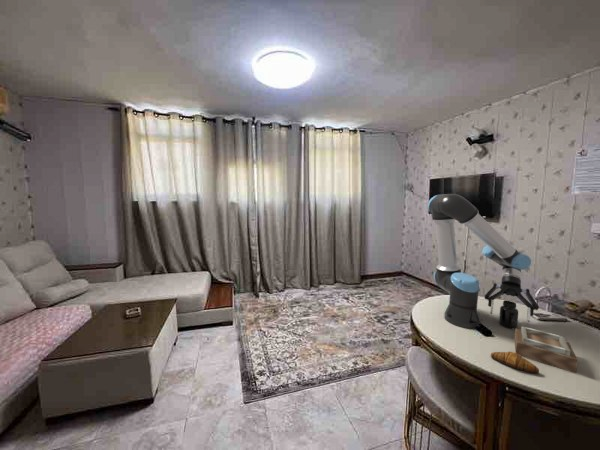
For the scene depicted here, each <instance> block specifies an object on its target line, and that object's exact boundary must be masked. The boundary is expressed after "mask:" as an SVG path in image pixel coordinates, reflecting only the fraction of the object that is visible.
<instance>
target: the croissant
mask: <svg viewBox="0 0 600 450" xmlns="http://www.w3.org/2000/svg"><path fill="white" fill-rule="evenodd" d="M490 357H491V358H492V359H493V360H494V361H496V362H499V363H501V364H504V365H507V366H508V367H511V368H513V369H517V370H521V371H525V372H527V373H532V374H539V372H540V369H539V368H538V367H537V366H536V365H535V364H533V363H532V362H531V361H529V360H528V359H527V358H525V357H523V356H521V355H519V354H517V353H516V352H514V351H507V352H506V351H495V352H491V354H490Z"/></svg>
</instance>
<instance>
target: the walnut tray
mask: <svg viewBox="0 0 600 450" xmlns="http://www.w3.org/2000/svg"><path fill="white" fill-rule="evenodd" d="M514 330H515V331H514V338H513V339H514V349H515V353H517V354H519V355H521V356H522V357H523V358H525V359H530V360H533V361H536V362H539V363H543V364H547V365H549V366H552V367H556V368H557V369H558V368H560V369H562V370H566V371H568V372H572V373H575V374H576V373H577V367H578V360H579V359H578V357H577V356H576V353H575V352H574V350H573V347H572V346H571V343H570V342H569V341H566V339H565V337H564V336H562V335H558V334H554V333H550V332H547V331H542V330H538V329H534V328H531V327H527V326H523V325H522V326H521V328H515V329H514Z"/></svg>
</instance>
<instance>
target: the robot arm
mask: <svg viewBox="0 0 600 450" xmlns="http://www.w3.org/2000/svg"><path fill="white" fill-rule="evenodd" d="M427 209H428V211H429V213H430V214H431V220H432V221H433V222H434V223H435V231H436V243H437V257H438V264H437V265H436V268H435V269H436V270H435V271H434V273H433V280H434V282H435V284H436V285H437V286H438V287H439V288H440V289H442V290H443V291H445V292H446V293H448V294H449V299H448V300H449V303H448V305H447V307H446V309H445V311H444V313H443V314H444V316H443V317H444V318H443V319H445V320H446V321H447V322H448V323H450V324H452V325H454V326H457V327H461V328H466V329H476V328H475V327H476V326H477V325H479V324H480V325H481V319H480V314H479V312H478V299H479V290H480V282H479V280H478V279H477V277H476V276H474V275H471V274H468V273H465V272H462V269H461V268H462V267H461V266H459V265H458V259H457V246H456V231H455V221H457V222H458V223H459V224H461V225H462V224H463V225H465V226H466V227H467V228H468V229H469V230H470V231H471V232H472V233H473V234H474V235H475V236H476V237H477V238H478V239H480V240H481V241H482V242H483V243H484V244H485V246H484V247H483V248H482V250H481V251H482V255H483V256H484V257H486V258H487V259H489V260H491V261H492V262H494V263H496V264H498V265H500V266H501V267H502V271H501V284H497V283H496V282H494V283H493V285H492V287H491V288H490V290H488V291H487V292H486V293H485V295H484V299H485V300H487V301H488V304H487V305H488V307H489V308H490V314H491V315H492V314H493V309H494V301H495V300H496V299H497V298H499V297H501V296H503V295H506V296H510V297H516V299H519V300H520V301H521V302H522V303H523V305H525V306H526V307H527V311H526V312H527V313H526V315H527V318H526V320H527V323H528V324H530V322H531V317H533V316H534V311H538V310H539V309H540V306H539V304H538V303H537V302H536V300H535V299H534V297H533V296H532V294H531V292H530V289H529V288H526V289H522V271H524V270H527V269H529V267H530V266H531V264H532V258H530V256H529V255H526V254H525V253H521V252H520V251H518V250H517V249H516V248H515V247H514V246H513V245H512V244H511V243H510V242H509V241H508V240H507V239H506V238H505V237H504V236H503V235H501V234H500V232H498V231H497V229H496V228H494V227H493V225H491V224H490V223H489V222H488V221H487V220H485V218H483V216H481V214H480V213H479V209H478V208H477V207H476V206H475V205H474V204H472V203H471V202H470V201H469V200H467V199H466V198H465V197H464V196H461V195H460V194H457V193H447V194H446V193H445V194H444V193H443V194H442V193H440V194H437V195H434V196H433V197H431V198H430V199H429V201H428V203H427ZM498 289H500V290H499V291H497V292H496V293H494V292H495V291H496V290H498ZM522 293H523V294H524V295H525V296H526V298H525V296H523V294H522ZM527 299H528V300H527Z"/></svg>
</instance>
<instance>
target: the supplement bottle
mask: <svg viewBox="0 0 600 450" xmlns="http://www.w3.org/2000/svg"><path fill="white" fill-rule="evenodd" d="M498 319H499V320H498V323H499V325H500V326H501V327H503V328H506V329H509V330H515V328H516V329H518V323H519V309H517V303H516V302H515V301H511V300H503V302H502V305H500V307H499V317H498Z"/></svg>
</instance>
